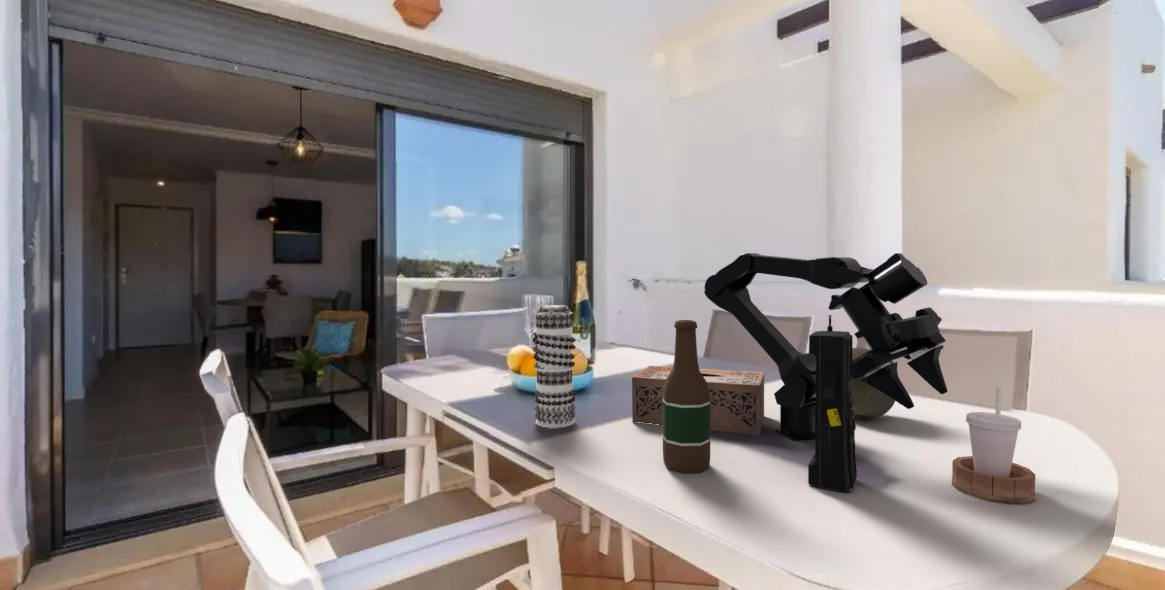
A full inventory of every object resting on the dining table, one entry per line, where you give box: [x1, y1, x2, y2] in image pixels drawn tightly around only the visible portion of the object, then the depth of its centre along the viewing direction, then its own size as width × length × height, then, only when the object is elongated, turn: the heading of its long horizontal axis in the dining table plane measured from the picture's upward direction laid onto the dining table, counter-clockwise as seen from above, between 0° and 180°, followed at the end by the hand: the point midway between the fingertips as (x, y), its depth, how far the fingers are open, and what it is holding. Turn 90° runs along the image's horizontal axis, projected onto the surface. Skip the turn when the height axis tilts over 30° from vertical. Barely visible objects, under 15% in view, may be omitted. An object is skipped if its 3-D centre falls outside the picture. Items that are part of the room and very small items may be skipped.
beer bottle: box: [662, 319, 711, 474], centre depth 88 cm, size 8×8×24 cm
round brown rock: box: [850, 347, 900, 421], centre depth 116 cm, size 14×14×15 cm
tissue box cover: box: [631, 365, 765, 436], centre depth 116 cm, size 26×14×10 cm, turn 68°
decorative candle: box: [531, 304, 576, 428], centre depth 114 cm, size 9×9×25 cm
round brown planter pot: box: [951, 455, 1036, 505], centre depth 77 cm, size 10×10×3 cm
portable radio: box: [807, 314, 858, 494], centre depth 80 cm, size 8×6×25 cm
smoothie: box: [965, 387, 1022, 478], centre depth 77 cm, size 6×6×14 cm
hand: (928, 400), depth 87 cm, fingers open, 9 cm apart
